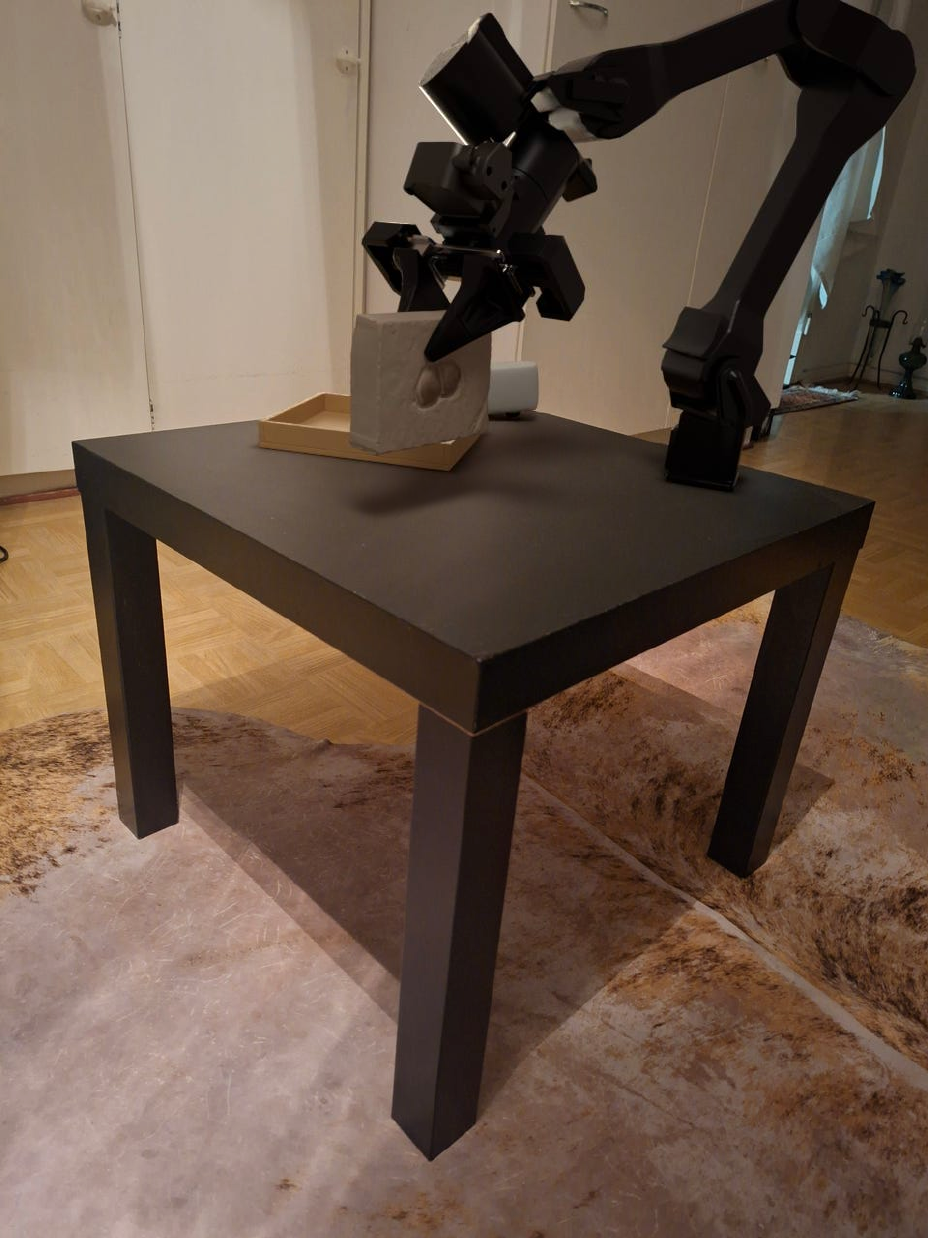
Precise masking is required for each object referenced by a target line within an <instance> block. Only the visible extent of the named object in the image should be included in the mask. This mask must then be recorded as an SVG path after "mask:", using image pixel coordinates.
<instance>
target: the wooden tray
mask: <svg viewBox="0 0 928 1238" xmlns="http://www.w3.org/2000/svg"><path fill="white" fill-rule="evenodd" d="M350 408H351V407H350V394H344V393H335V392H326V391H320V392H318V393H316V394H314V395H312V396H309V397H307V398H304V399H303V400H301V401H298V402H296V403H294V404H292V405H289V406H288V407H285V408H284V409H281V410H279V411H277V412H274V413H273V414H270V415H268V416H266V417H264V418H262V419H260V420H258V421H257V425H258V447H259V448H263V449H270V450H278V451H285V452H293V453H303V454H310V455H317V456H325V457H326V456H327V457H332V458H333V457H334V458H341V459H349V460H357V461H364V462H372V463H380V464H389V465H397V466H403V467H412V468H420V469H429V470H436V471H444V472H450V471H451V469H453V468H454V466H455V465H456V464H457V463H458V462H459V460H461V459H462V457H463V456H464V455H465V454H466V453H467V452H468V450H469V449H470V448H471V447H472V446H473V445H474V443H476V441H477V440H478V439H479V438H480V437H481V436H482V434H478V435H472V436H470V437H467V438H463V439H458V440H452V441H447V442H441V443H438V444H432V445H427V446H422V447H418V448H413V449H408V450H401V451H396V452H390V453H386V454H382V455H379V456H375V455H372V454H370V453H369V452H366V451H361V450H359V449H356V448H354V447H352V446H351V445H350V442H349V434H350V421H351V419H350Z"/></svg>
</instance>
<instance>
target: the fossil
mask: <svg viewBox="0 0 928 1238" xmlns="http://www.w3.org/2000/svg"><path fill="white" fill-rule="evenodd" d="M445 312H446V310H441V311H420V312H398V313H397V312H381V313H380V312H379V313H359V314H358V313H357V314H356V316H355V323H354V327H353V332H352V338H351V347H350V353H349V360H350V361H349V375H350V378H349V386H350V389H349V391H350V392H349V395H350V407H351V408H350V419H351V421H350V434H349V442H350V445H351V446H352V447H354V448H356V449H359V450H361V451H366V452H369V453H370V454H372V455H375V456H379V455H382V454H386V453H390V452H396V451H401V450H408V449H413V448H418V447H422V446H427V445H432V444H438V443H441V442H447V441H452V440H458V439H463V438H467V437H470V436H472V435H478V434H481V435H483V434H486V433H488V432H489V424H490V420H489V419H490V417H489V414H488V393H489V389H490V375H491V367H490V366H491V362H492V351H493V346H492V344H493V332H491V333H488V334H486V335H484V336H482V337H480V338H478V339H476V340H474V341H472V342H470V343H469V344H467V345H465V346H463V347H461V348H460V349H458V350H456V351H454V352H452V353H450V354H449V355H447V356H445V357H443V358H441V359H439V360H438V361H436V362H429V361H428V359H427V358H426V356H425V355H424V350H425V348H426V346H427V344H428V342H429V340H430V337H431V336H432V334H433V332H434V330H435V329H436V327H437V325H438V324H439V322H440V320H441V319H442V317H443V315H444V314H445Z"/></svg>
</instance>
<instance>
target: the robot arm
mask: <svg viewBox="0 0 928 1238" xmlns="http://www.w3.org/2000/svg"><path fill="white" fill-rule="evenodd" d="M914 51H915V50H914V47H913V44H912V42H911V40H910V39H909V37H908V35H907V34H905V33H904V32H902V31H901V30H899V29H892V28H891V27H890V26H889V25H888V24H887V23H885V22H884V20H882V19H881V18H879V17H878V16H876V15H873V14H871V13H869V12H867V11H866V10H865V11H864V10H863V9H861V8H858V7H856V6H853V5H851V4H849V3H847V2H845V1H842V0H762V1H760V2H758V3H756V4H753V5H751V6H748V7H746V8H743V9H741V10H738V11H735V12H734V13H731V14H728V15H726V16H723V17H720V18H719V19H716V20H713V21H711V22H709V23H707V24H704V25H701V26H698V27H697V28H693V29H692V30H689V31H686V32H683V33H682V34H679V35H677V36H674V37H672V38H669V39H667V40H664V41H661V42H654V43H644V44H643V43H642V44H636V45H631V46H627V47H626V46H625V47H619V48H613V49H608V50H604V51H600V52H598V53H594V54H591V55H588V56H584V57H581V58H578V59H577V58H576V59H574V60H571V61H567V62H566V63H565V64H563V65H561V66H559V67H558V69H557V70H556V71H555V70H551V71H548V72H543V73H540V74H538V75H533V74H532V72H531V71H530V69H529V68H528V66H527V65H526V64H525V62H524V61H523V59H522V58H521V57H520V56H519V53H518V52H517V51H516V49H515V48H514V47H513V45H512V44H511V43H510V41H509V40H508V38H507V36H506V34H505V31H504V29H503V27H502V25H501V23H500V22H499V21H498V20H497V18H496V17H495V16H494V14H493V13H492V12H486V13H485V14H483V15H481V16H479V17H477V18H476V20H475V21H474V22H473V24H472V25H471V26H470V27H469V28H468V29H467V30H466V31H464V32H463V33H462V34H461V35H460V36H459V37H458V38H457V39H456V40H455V41H454V42H453V43H452V44H451V45H450V46H449V47H448V48H446V49H444V50H442V51H441V52H440V53H438V55H437V56H436V57H435V59H434V60H433V61H432V62H431V64H430V65H429V66H428V68H427V69H426V70H425V72H424V73H423V75H422V76H421V78H420V80H419V82H418V87H419V89H420V90H421V91H422V92H423V94H424V95H425V96H426V97H427V99H428V101H430V102H431V103H432V105H433V106H434V107H435V109H436V110H437V111H438V113H439V114H440V115H441V116H442V117H443V119H444V120H445V121H446V123H447V124H448V125H449V126H450V127H451V129H452V130H453V131H454V132H455V133H456V135H457V136H458V137H459V138H460V140H461V141H462V142H463V143H464V144H462V143H460V142H457V141H418V142H417V143H416V146H415V148H414V152H413V155H412V158H411V160H410V164H409V166H408V170H407V173H406V175H405V179H404V182H403V185H402V190H403V191H404V193H406V194H407V195H408V196H413V197H415V198H416V199H417V200H418V201H420V202H421V203H422V204H423V205H425V206H426V207H427V208H428V209H429V210H430V211H431V212H433V213H434V214H433V216H432V217H431V219H430V220H429V223H430V225H431V227H432V228H433V230H434V231H435V233H436V234H437V235H441V236H442V238H443V240H442V242H441V243H438V242H436V241H435V240H434V239H433V238H431V237H430V236H428V235H423V234H422V232H421V231H420V228H419V227H418V225H417V224H416V223H404V222H393V221H377V220H376V221H375V220H374V221H373V223H372V224H371V226H370V227H369V228H368V230H367V231H366V232H365V234H364V236H363V237H362V238H361V246H362V247H363V249H364V250H365V252H366V253H367V255H368V256H369V258H370V259H371V260H372V262H373V264H374V265H375V267H376V268H377V269H378V271H379V272H380V274H381V276H382V277H383V278H384V280H385V282H386V283H387V285H388V286H389V288H390V289H391V290H392V291H393V292H394V293H395V294H397V295H398V297H400V298H399V302H398V306H397V310H396V313H398V312H420V311H441V310H446V312H445V314H444V315H443V317H442V319H441V320H440V322H439V324H438V325H437V327H436V329H435V330H434V332H433V334H432V336H431V337H430V340H429V342H428V344H427V346H426V348H425V350H424V355H425V356H426V358H427V359H428V361H429V362H436V361H438V360H439V359H441V358H443V357H445V356H447V355H449V354H450V353H452V352H454V351H456V350H458V349H460V348H461V347H463V346H465V345H467V344H469V343H470V342H472V341H474V340H476V339H478V338H480V337H482V336H484V335H486V334H488V333H491V332H492V333H493V332H495V331H497V330H500V329H501V328H503V327H506V326H507V325H510V324H512V323H521V322H523V321H524V320H525V318H526V316H527V315H526V312H525V310H524V309H523V308H524V306H525V305H526V303H527V302H528V301H529V299H530V298H534V297H535V296H536V294H537V291H536V289H535V288H539V291H540V293H541V294H540V295H539V296H538V298H537V299H536V301H535V305H536V309H537V311H538V314H539V316H540V318H542V319H549V320H556V321H562V322H568V323H569V322H571V321H572V320H573V318H574V317H575V315H576V314H577V312H578V310H579V309H580V307H581V305H582V304H583V303H584V302H585V293H586V285H585V283H584V280H583V277H582V276H581V273H580V271H579V269H578V266H577V264H576V261H575V259H574V257H573V255H572V252H571V250H570V247H569V245H568V243H567V240H566V238H565V236H564V235H563V234H562V235H561V234H549V233H546V231H545V227H544V224H545V222H546V221H547V219H548V218H549V216H550V215H551V213H552V212H553V210H554V208H555V207H556V205H557V204H558V203H559V201H560V200H561V198H562V199H563V200H564V201H565V203H572V202H574V201H577V200H579V199H582V198H585V197H587V196H590V195H592V194H595V193H596V192H597V191H598V181H597V175H596V174H595V172H594V169H593V159H591V158H590V157H583V155H582V154H581V152H580V150H579V149H578V147H577V146H576V145H575V144H585V143H593V142H601V141H610V140H616V139H620V138H622V137H625V136H626V135H628V134H629V133H630V132H632V131H633V130H635V129H636V128H638V127H639V126H641V125H642V124H644V123H646V122H647V121H648V120H650V119H651V118H653V117H654V116H656V115H657V114H658V113H659V112H660V111H661V110H662V109H663V108H664V107H665V106H666V105H667V104H668V103H669V102H671V101H672V100H674V99H676V98H677V97H678V96H679V95H681V94H683V93H684V92H687V91H690V90H692V89H694V88H697V87H700V86H701V85H703V84H706V83H709V82H710V81H714V80H716V79H719V78H720V77H723V76H725V75H728V74H730V73H732V72H735V71H737V70H740V69H742V68H744V67H747V66H749V65H752V64H755V63H756V62H759V61H761V60H764V59H766V58H769V57H771V56H774V55H775V57H777V59H778V61H779V64H780V66H781V68H782V70H783V72H784V75H785V76H786V78H787V79H788V80H789V81H790V82H791V83H792V84H793V85H795V86H796V87H797V88H799V90H800V93H799V95H798V97H797V98H798V99H797V101H796V104H795V136H794V139H793V142H792V145H791V147H790V148H789V150H788V152H787V154H786V156H785V158H784V160H783V161H782V164H781V166H780V167H779V170H778V172H777V174H776V176H775V177H774V179H773V182H772V183H771V186H770V188H768V189H769V190H768V191H767V193H766V195H765V197H764V199H763V201H762V203H761V205H760V207H759V209H758V210H757V213H756V215H755V216H754V219H753V220H752V223H751V224H750V226H749V228H748V230H747V232H746V234H745V236H744V238H743V240H742V242H741V244H740V246H739V248H738V250H737V252H736V254H735V256H734V257H733V259H732V262H731V264H730V265H729V268H728V269H727V271H726V273H725V275H724V277H723V279H722V281H721V282H720V285H719V287H718V289H717V290H716V293H715V294H714V295H713V296H712V298H711V299H710V300H708V302H706V303H705V304H704V305H703V306H702V307H701V308H697V307H692V306H684V307H683V308H682V309H681V311H680V313H679V314H678V317H677V319H676V322H675V325H674V327H673V330H672V332H671V334H670V335H669V337H668V338H667V339H666V340H665V341H664V342H663V343H662V345H661V348H662V349H665V351H664V354H663V357H662V358H661V364H660V371H662V376H663V381H664V383H665V385H666V387H667V389H668V394H669V402H670V407H671V408H673V409H678V410H681V413H680V414H679V418H678V423H676V424H675V425H673V427H672V428H671V429H670V433H669V439H668V444H667V451H666V457H665V462H664V466H663V467H664V469H665V471H667V472H666V474H665V480H666V481H671V482H679V483H684V484H691V485H695V486H701V487H708V488H713V489H719V490H720V489H721V490H724V491H725V490H726V491H734V490H735V486H736V484H737V482H738V479H739V477H740V471H739V470H740V469H739V467H740V462H741V459H742V455H743V449H744V446H745V440H746V436H747V431H748V429H749V428H751V427H761V426H762V425H763V424H764V422H765V420H766V419H767V416H768V414H769V412H770V410H771V409H772V403H771V401H770V400H769V398H768V396H767V395H766V392H765V391H764V390H763V387H762V386H761V385H760V383H759V381H758V379H757V378H756V376H755V374H756V371H757V369H758V367H759V363H760V361H761V358H762V356H763V353H764V334H765V333H764V332H765V331H764V330H765V329H764V328H765V318H766V316H767V312H768V311H769V309H770V307H771V305H772V304H773V301H774V300H775V298H776V296H777V294H778V292H779V291H780V288H781V287H782V284H783V283H784V281H785V279H786V278H787V276H788V273H789V271H790V270H791V268H792V266H793V264H794V262H795V261H796V259H797V257H798V255H799V252H800V251H801V249H802V247H803V246H804V244H805V242H806V240H807V238H808V236H809V235H810V232H811V230H812V228H813V227H814V225H815V223H816V221H817V219H818V218H819V215H820V214H821V211H822V210H823V208H824V206H825V204H826V202H827V201H828V199H829V196H830V195H831V193H832V191H833V189H834V188H835V186H836V183H837V182H838V179H839V178H840V176H841V175H842V172H843V170H844V168H845V166H846V164H847V163H848V162H849V160H850V159H851V158H852V156H853V155H854V154H856V153H857V152H858V151H859V150H860V149H861V148H862V147H864V146H865V145H866V144H867V143H868V142H869V141H871V140H872V138H874V137H875V136H876V135H878V133H880V131H882V130H883V129H884V128H885V127H886V126H887V124H888V122H889V121H890V119H892V117H893V116H894V114H895V113H896V111H897V110H898V108H899V107H900V106H901V104H902V103H903V102H904V100H905V98H906V97H907V96H908V94H909V92H910V90H911V88H912V86H913V84H914V81H915V79H916V74H917V70H918V68H917V65H916V57H915V52H914ZM509 137H510V138H509ZM507 139H508V141H507V142H506V143H504V142H505V141H506V140H507ZM447 281H450V282H459V283H460V285H459V288H458V290H457V292H456V294H455V296H454V297H453V299H452V301H451V302H450V300H449V298H448V297H447V295H446V293H445V292H444V289H445V288H446V284H445V283H446V282H447Z"/></svg>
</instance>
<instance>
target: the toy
mask: <svg viewBox="0 0 928 1238" xmlns="http://www.w3.org/2000/svg"><path fill="white" fill-rule="evenodd" d="M490 367H491V375H490V389H489V393H488V415H492V414H493V415H495V414H504V415H505V417H506V418H507V419H510V420H513V419H514V420H515V419H517V418H519V417H520V414H521V412H529V411H530V412H531V411H536V410H537V409H538V405H539V397H540V395H539V394H540V393H539V391H540V383H539V380H540V379H539V367H538V365H537V364H536V363H535V361H533V360H519V361H517V360H516V361H515V360H514V361H513V360H512V361H510V360H509V361H491V366H490Z"/></svg>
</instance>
